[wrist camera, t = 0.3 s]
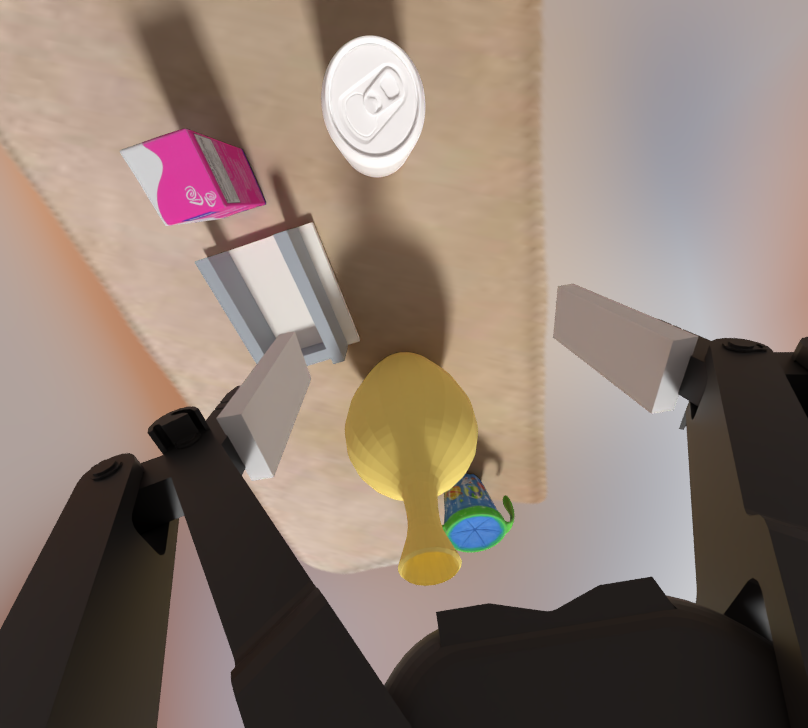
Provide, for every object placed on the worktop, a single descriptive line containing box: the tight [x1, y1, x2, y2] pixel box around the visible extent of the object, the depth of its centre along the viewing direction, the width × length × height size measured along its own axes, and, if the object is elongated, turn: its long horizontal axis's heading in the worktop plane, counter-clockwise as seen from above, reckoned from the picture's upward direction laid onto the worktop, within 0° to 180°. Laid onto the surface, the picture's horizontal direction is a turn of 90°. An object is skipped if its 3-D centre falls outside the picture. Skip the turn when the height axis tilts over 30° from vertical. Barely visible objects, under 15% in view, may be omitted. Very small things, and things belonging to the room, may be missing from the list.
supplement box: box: [120, 129, 266, 226], centre depth 29 cm, size 6×6×12 cm
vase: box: [345, 352, 478, 586], centre depth 36 cm, size 16×16×28 cm
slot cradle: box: [195, 222, 360, 366], centre depth 38 cm, size 16×14×6 cm
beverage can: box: [321, 35, 425, 177], centre depth 28 cm, size 8×8×12 cm
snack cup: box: [442, 474, 514, 552], centre depth 56 cm, size 16×10×10 cm
